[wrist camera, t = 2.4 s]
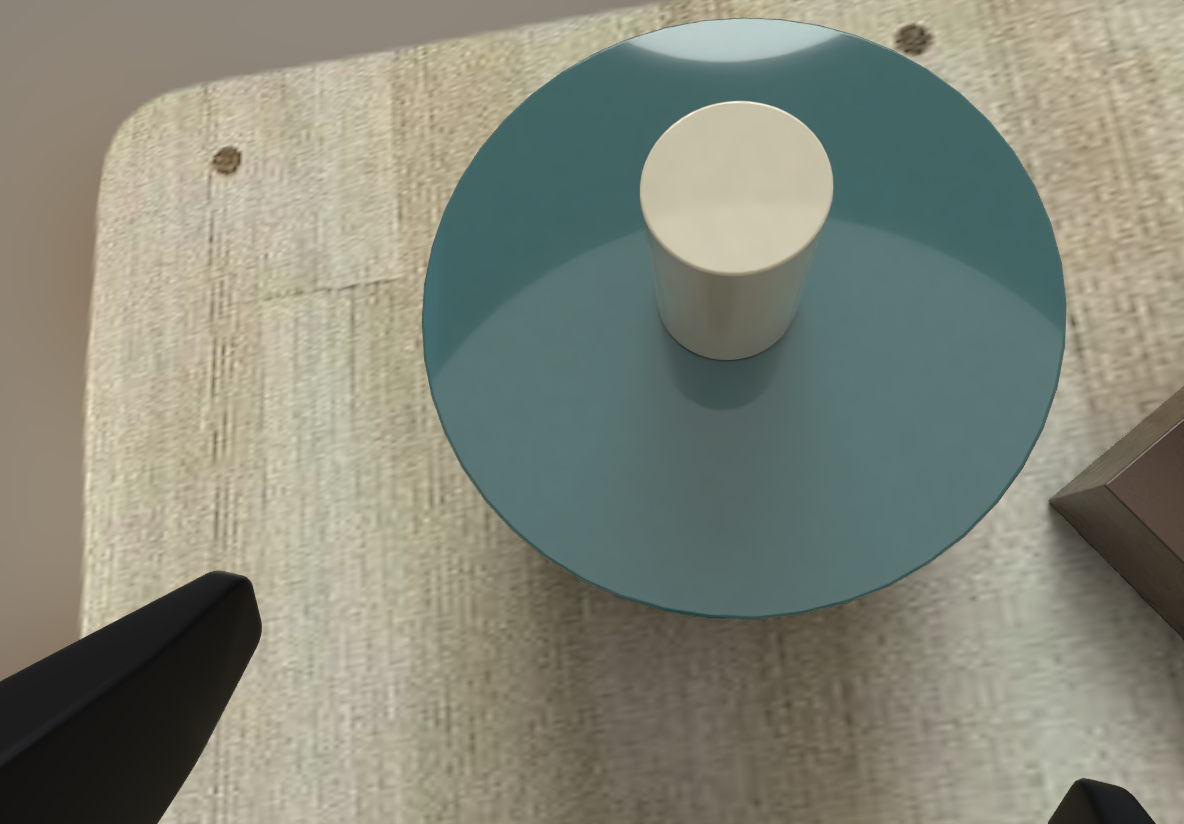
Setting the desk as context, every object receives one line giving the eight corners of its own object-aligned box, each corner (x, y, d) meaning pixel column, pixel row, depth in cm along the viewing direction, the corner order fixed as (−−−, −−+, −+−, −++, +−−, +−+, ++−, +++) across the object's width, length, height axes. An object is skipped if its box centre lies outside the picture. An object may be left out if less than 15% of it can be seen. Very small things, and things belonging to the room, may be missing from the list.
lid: (1001, 686, 14) (1171, 736, 9) (376, 544, 16) (224, 520, 11) (1070, 87, 16) (1236, -145, 11) (513, 29, 18) (440, -189, 13)
